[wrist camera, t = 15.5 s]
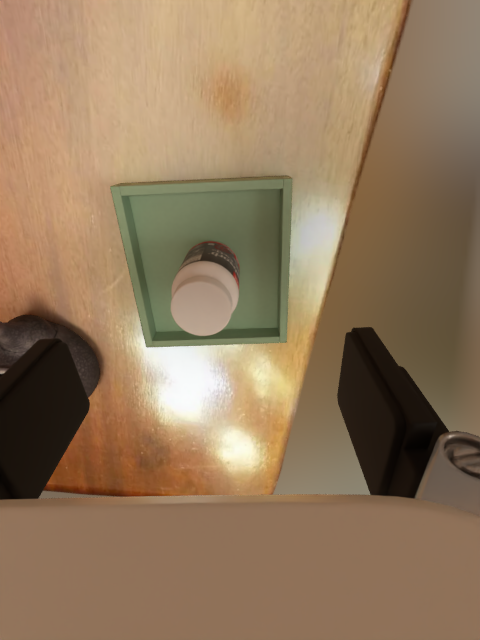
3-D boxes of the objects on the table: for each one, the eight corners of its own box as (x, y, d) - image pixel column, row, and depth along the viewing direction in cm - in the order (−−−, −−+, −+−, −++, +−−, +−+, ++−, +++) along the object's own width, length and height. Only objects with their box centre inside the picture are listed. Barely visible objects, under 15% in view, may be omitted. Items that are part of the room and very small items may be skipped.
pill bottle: (250, 271, 33) (254, 317, 24) (209, 301, 34) (199, 354, 26) (214, 227, 31) (204, 260, 22) (172, 262, 32) (147, 305, 24)
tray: (288, 175, 29) (292, 178, 27) (283, 330, 37) (286, 342, 35) (120, 183, 29) (109, 186, 27) (151, 335, 37) (146, 347, 35)
